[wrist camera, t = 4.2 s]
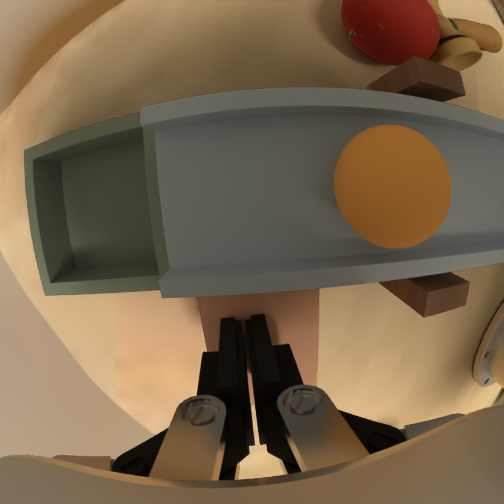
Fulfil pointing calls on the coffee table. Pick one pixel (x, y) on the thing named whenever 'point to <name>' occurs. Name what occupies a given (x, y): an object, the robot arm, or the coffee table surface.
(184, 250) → the lever
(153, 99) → the coffee table surface
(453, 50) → the kendama
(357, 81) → the coffee table surface
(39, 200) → the green square tray
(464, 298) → the stand
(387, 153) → the ball
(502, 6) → the coffee box
